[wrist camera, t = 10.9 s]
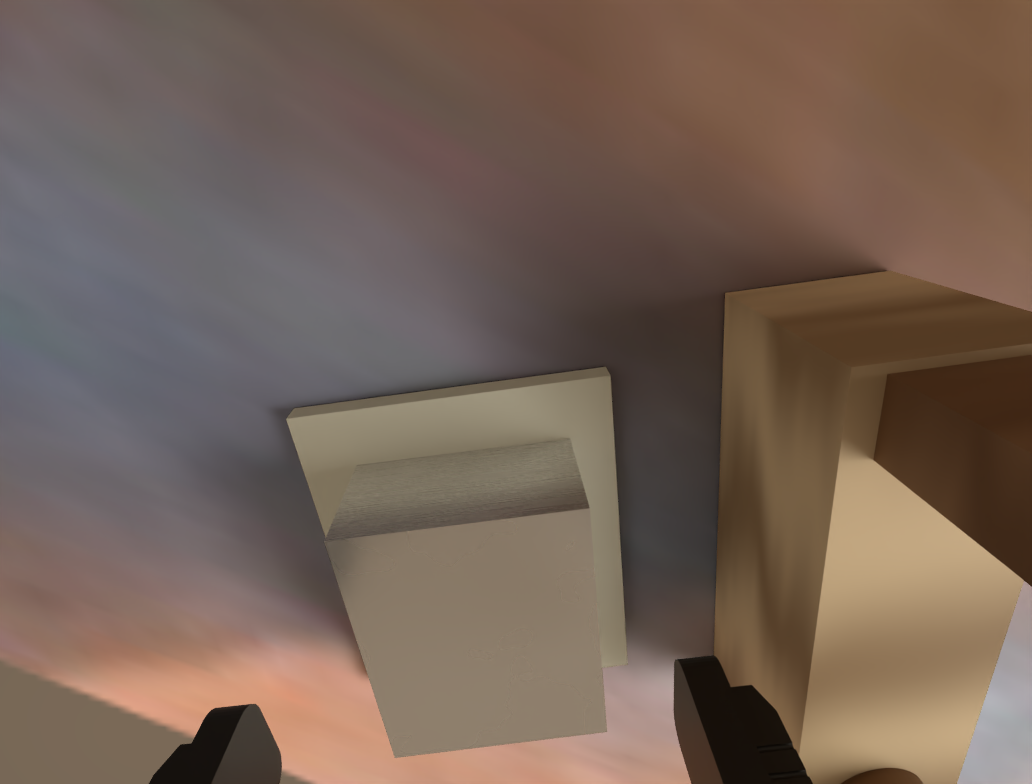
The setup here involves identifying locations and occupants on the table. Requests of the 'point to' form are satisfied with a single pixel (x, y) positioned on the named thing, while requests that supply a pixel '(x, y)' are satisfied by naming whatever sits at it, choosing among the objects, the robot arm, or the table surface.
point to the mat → (480, 425)
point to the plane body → (872, 515)
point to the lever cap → (473, 596)
